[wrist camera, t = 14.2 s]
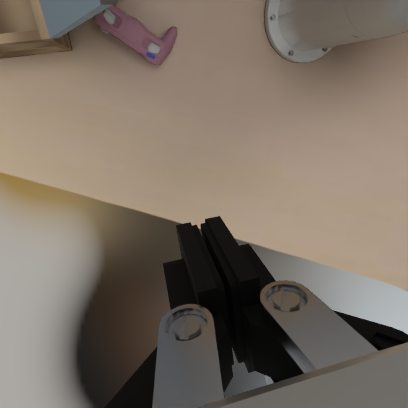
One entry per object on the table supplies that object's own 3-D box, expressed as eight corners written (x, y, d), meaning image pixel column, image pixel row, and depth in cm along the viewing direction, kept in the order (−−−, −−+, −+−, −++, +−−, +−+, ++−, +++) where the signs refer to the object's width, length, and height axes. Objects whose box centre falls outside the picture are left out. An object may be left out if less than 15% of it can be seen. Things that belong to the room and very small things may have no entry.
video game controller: (100, 12, 40) (82, 26, 35) (113, -23, 37) (96, -13, 32) (165, 57, 44) (157, 77, 39) (181, 29, 41) (176, 45, 36)
